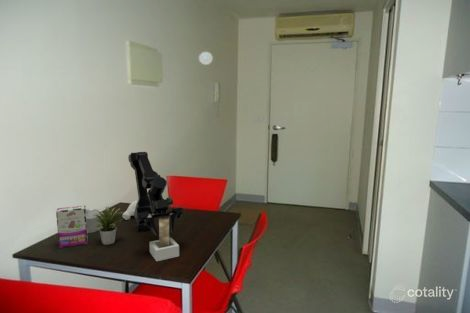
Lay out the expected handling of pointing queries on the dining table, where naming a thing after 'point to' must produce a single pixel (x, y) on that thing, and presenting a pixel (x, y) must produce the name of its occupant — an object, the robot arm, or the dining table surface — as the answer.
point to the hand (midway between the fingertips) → (165, 234)
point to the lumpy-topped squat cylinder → (92, 220)
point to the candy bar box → (72, 226)
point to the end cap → (164, 250)
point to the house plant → (108, 226)
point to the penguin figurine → (130, 210)
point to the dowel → (163, 232)
